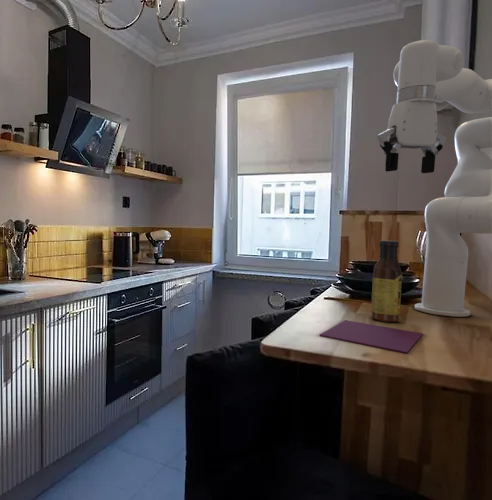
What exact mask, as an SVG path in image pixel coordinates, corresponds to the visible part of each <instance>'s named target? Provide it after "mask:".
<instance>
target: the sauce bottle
mask: <svg viewBox="0 0 492 500" xmlns="http://www.w3.org/2000/svg"><path fill="white" fill-rule="evenodd" d="M398 248H399V241H398V240H380V241H379V259H378V260H377V262H376V263H375V264H374V267H373V277H372V290H371V292H372V293H371V307H370V309H371V310H370V312H371V318H372V319H373V320H374V321H375V320H376V321H379V322H387V323H396V322H398V321H399V319H400V314H401V300H402V299H401V298H402V281H403V271H402V269H401V266H400V263H399V259H398Z"/></svg>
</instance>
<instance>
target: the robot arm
mask: <svg viewBox="0 0 492 500" xmlns="http://www.w3.org/2000/svg"><path fill="white" fill-rule="evenodd" d="M464 65H465V57H464V54H463V52H462V51H461V50H460V49H459V48H457V47H455V46H452V45H446V44H439V43H437V41H435V40H432V39H419V40H415V41H412V42H410V43H407V44H406V45H404V46H403V47H402V48H401V51H400V53H399V61H398V62H397V63H396V65H395V66H394V69H393V71H392V72H393V81H394V83H395V85H396V86H397V91H396V103H394V104H393V105H392V107H391V110H390V114H389V117H388V122H387V123H388V124H387V127H386V128H387V129H386V130H384V131H382V132H381V133H379V134H377V139H378V142H379V146H380V148H381V150H382V151H383V155H385V170H384V171H385V172H386V173H387V172H395V171H398V168H399V152H397V151H399V149H408V150H419V149H420V150H421V151H422V153H423V155H424V156H422V157H421V166H420V167H421V168H420V169H421V170H420V172H421V174H431V173H434V172H435V166H436V156H438V155H439V153H440V152H441V150H442V149H443V148H444V147H443V146H444V145H445V143H446V141H447V137H446V136H445V135H443V134H441V133H440V132H438V111H437V104H436V102H435V101H443V102H447V103H448V104H449V105H451V106H453V107H454V108H455V109H457V110H458V111H460V112H462V113H464V114H468V115H469V114H471V115H474V114H481V113H487V112H492V78H488V79H484V78H482V76H480V75H479V74H478V73H477V72H476V71H474V70H472V69H470V68H468V67H467V68H466V67H464ZM489 148H490V149H491V148H492V116H489V117H483V118H482V117H481V118H476V119H471V120H468V121H465V122H463V123H462V124H460V125H459V126H458V127H457V128H456V130H455V132H454V149H455V154H456V159H457V165H456V167H455V168H454V170H453V172H452V173H451V176H450V178H449V180H448V181H447V183H446V185H445V188H444V196H443V197H437V198H435V199H432V200H430V201H429V202H428V203H427V204H426V206H425V209H424V223H425V230H426V231H425V232H426V237H425V238H426V239H425V240H426V242H425V256H424V266H423V267H424V269H423V278H422V279H423V280H422V290H421V291H422V292H421V302H418V303H415V304H414V309H415V310H416V311H418V312H421V313H426V314H431V315H435V316H436V315H437V316H445V317H454V318H456V317H457V318H459V317H460V318H463V317H464V318H465V317H469V316H471V310H469V309H467V308H464V307H465V297H466V284H467V275H468V263H469V247H468V245H467V243H466V241H465V239H463V237H462V236H461V235H460V234H481V235H482V234H486V235H488V234H489V235H490V234H492V158H491V157H490V156H489V155H488V154H487V153H486V152H484V151H482V150H481V149H489Z"/></svg>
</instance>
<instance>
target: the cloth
mask: <svg viewBox="0 0 492 500" xmlns="http://www.w3.org/2000/svg"><path fill="white" fill-rule="evenodd" d="M319 336H320V337H324V338H327V339H328V338H329V339H334V340H338V341H342V342H343V341H344V342H349V343H353V344H357V345H362V346H368V347H374V348H378V349H383V350H387V351H393V352H397V353H402V354H409V352H410V351H411V349H412V348H413V347H415V345H416V344H417V343H418V341H419V340H420V339H421V338H422V337H423V336H424V333H422V332H416V331H410V330H405V329H400V328H399V329H398V328H393V327H388V326H383V325H382V326H381V325H375V324H371V323H363V322H358V321H353V320H348V319H345V320H343V321H341V322H339V323H337V324H335V325H334V326H332V327H330V328H329V329H327V330H325V331H323V332H322V333H319Z"/></svg>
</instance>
